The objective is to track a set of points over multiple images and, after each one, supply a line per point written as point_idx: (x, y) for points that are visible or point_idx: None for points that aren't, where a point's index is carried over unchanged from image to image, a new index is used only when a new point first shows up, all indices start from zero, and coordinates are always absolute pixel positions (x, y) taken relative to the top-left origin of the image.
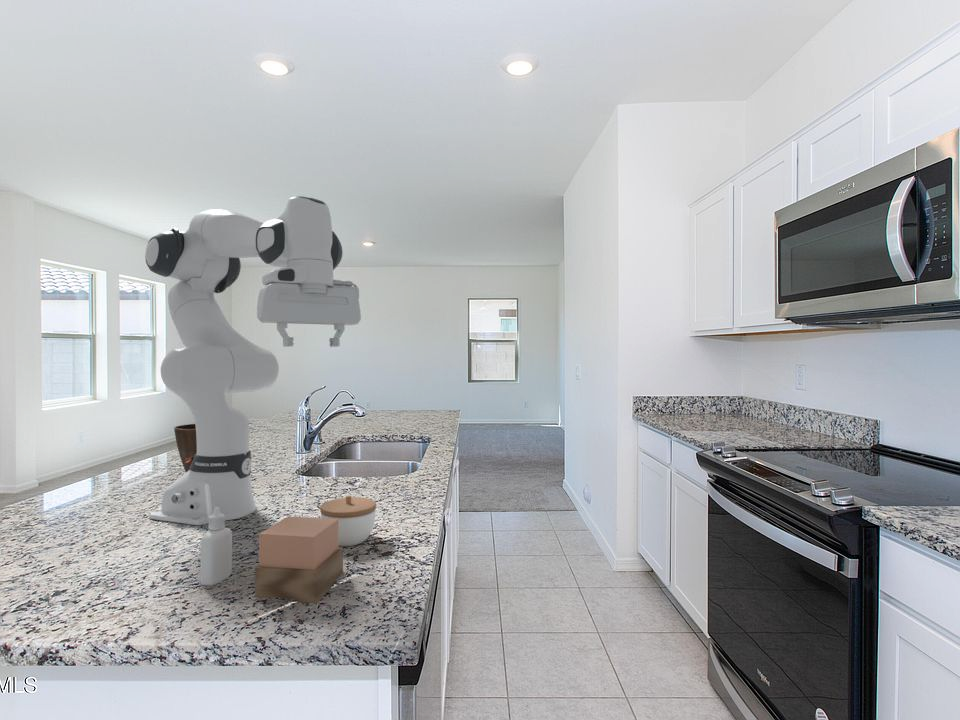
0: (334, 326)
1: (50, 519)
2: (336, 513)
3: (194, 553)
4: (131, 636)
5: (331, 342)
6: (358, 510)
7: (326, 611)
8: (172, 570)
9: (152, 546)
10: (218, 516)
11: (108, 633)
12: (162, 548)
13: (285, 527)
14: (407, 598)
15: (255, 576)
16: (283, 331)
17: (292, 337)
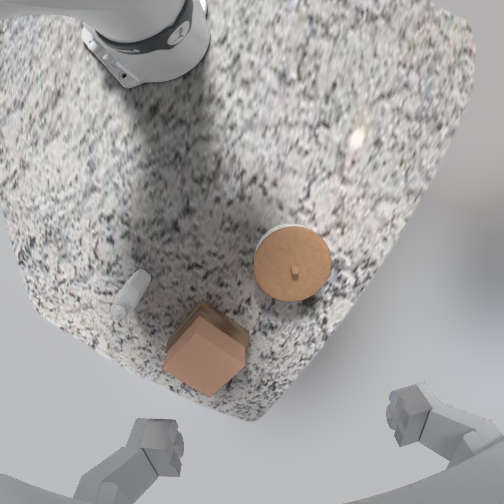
0: (469, 454)
1: None
2: (266, 293)
3: (117, 193)
4: (95, 346)
5: (399, 412)
6: (293, 300)
7: None
8: (100, 236)
9: (79, 146)
10: (120, 319)
11: (81, 334)
12: (88, 158)
13: (188, 364)
14: (278, 386)
15: (166, 347)
16: (126, 495)
17: (174, 476)
